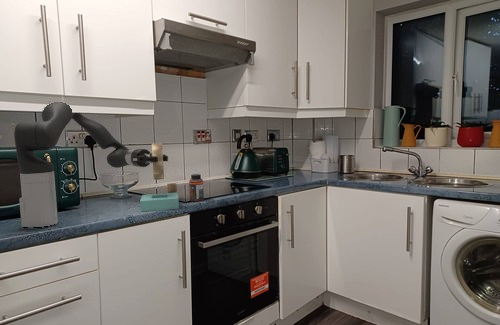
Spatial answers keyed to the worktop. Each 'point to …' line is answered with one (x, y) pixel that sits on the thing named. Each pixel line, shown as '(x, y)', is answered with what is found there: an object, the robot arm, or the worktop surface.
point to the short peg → (172, 188)
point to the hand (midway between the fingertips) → (162, 159)
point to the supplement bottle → (196, 188)
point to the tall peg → (158, 166)
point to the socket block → (159, 202)
